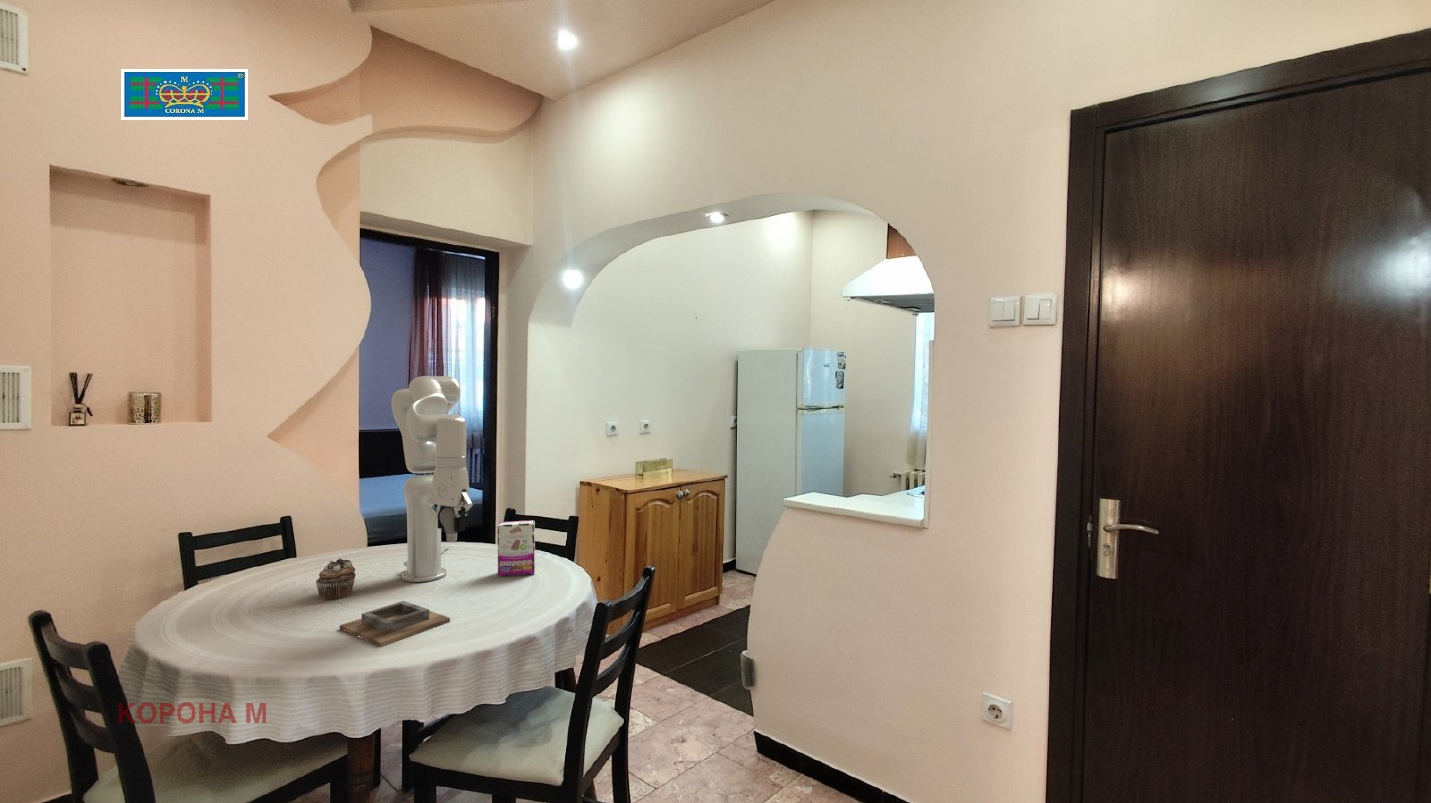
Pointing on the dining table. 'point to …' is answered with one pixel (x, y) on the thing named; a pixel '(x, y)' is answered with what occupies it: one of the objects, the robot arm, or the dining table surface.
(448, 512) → the light bulb
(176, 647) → the dining table surface
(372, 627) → the socket holder
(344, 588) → the cupcake
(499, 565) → the candy bar box
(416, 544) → the robot arm
